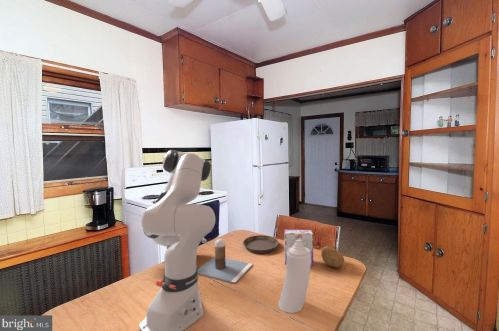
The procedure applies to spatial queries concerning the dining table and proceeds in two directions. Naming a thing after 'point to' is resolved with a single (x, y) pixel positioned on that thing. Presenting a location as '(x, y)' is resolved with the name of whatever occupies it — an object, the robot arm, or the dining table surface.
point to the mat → (225, 270)
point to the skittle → (220, 254)
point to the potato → (332, 257)
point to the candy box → (299, 235)
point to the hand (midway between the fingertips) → (200, 244)
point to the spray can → (295, 278)
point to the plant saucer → (260, 243)
